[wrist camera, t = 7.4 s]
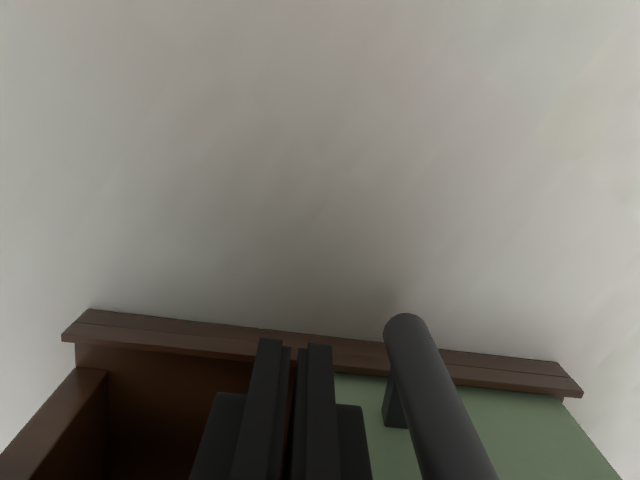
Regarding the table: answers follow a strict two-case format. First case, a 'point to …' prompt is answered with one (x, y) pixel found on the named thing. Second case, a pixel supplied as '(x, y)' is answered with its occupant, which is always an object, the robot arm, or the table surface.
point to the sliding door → (461, 422)
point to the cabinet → (193, 393)
